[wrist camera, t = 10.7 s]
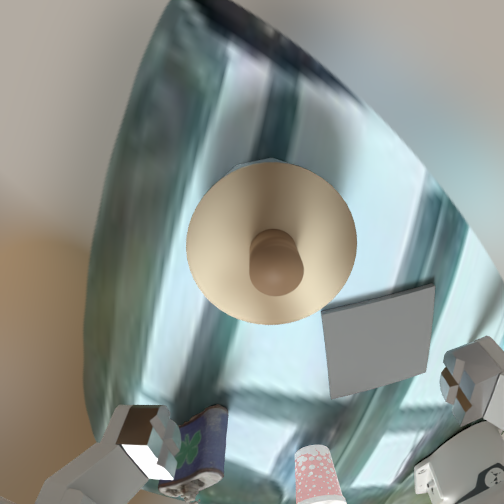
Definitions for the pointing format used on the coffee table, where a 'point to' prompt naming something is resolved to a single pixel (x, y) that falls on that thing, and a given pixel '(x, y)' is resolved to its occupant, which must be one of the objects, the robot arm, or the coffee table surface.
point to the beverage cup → (316, 477)
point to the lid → (271, 243)
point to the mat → (378, 340)
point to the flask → (199, 454)
